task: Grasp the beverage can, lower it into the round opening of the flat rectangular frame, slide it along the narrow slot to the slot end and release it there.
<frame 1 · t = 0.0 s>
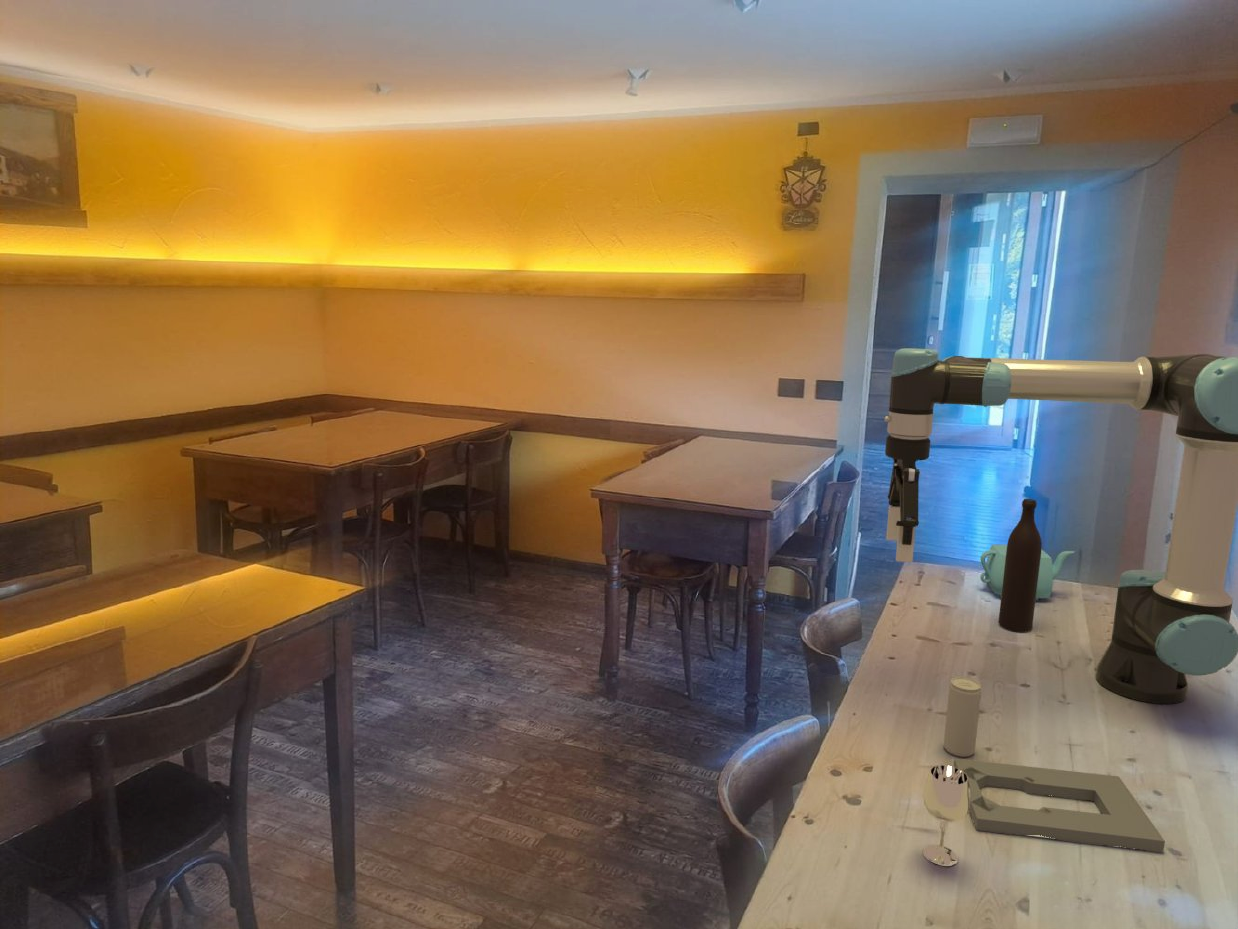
hand: (898, 550, 154), 28 cm above the table, fingers open, 13 cm apart
flat rectangular frame: (1049, 807, 124), on the table
beverage can: (958, 751, 139), on the table
wine bottle: (1014, 627, 193), on the table
teapot: (1022, 595, 215), on the table
wineglass: (940, 857, 113), on the table
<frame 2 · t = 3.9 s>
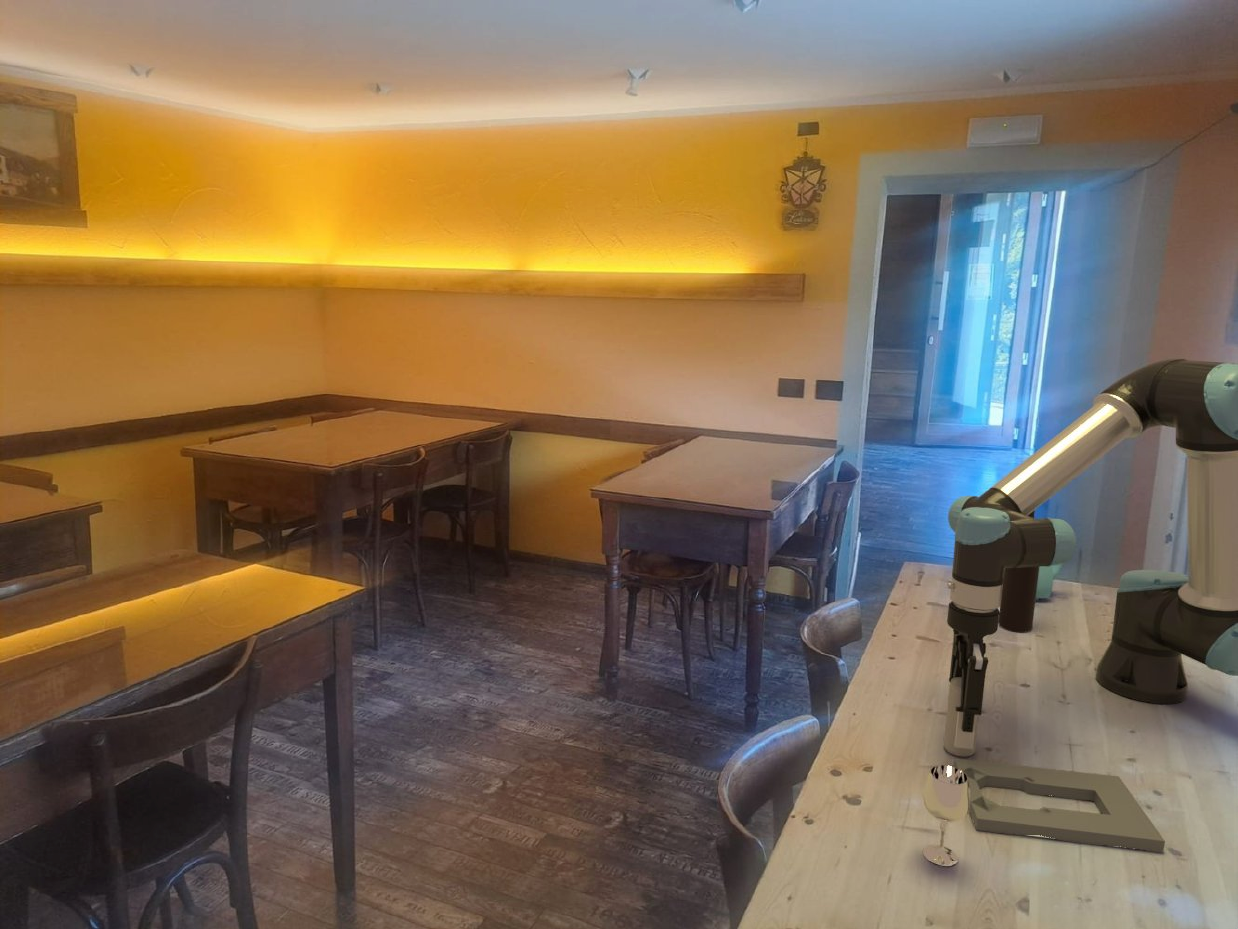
hand: (960, 738, 139), 2 cm above the table, fingers closed on beverage can, 5 cm apart
beverage can: (958, 751, 139), on the table, touching gripper
everything else where it was.
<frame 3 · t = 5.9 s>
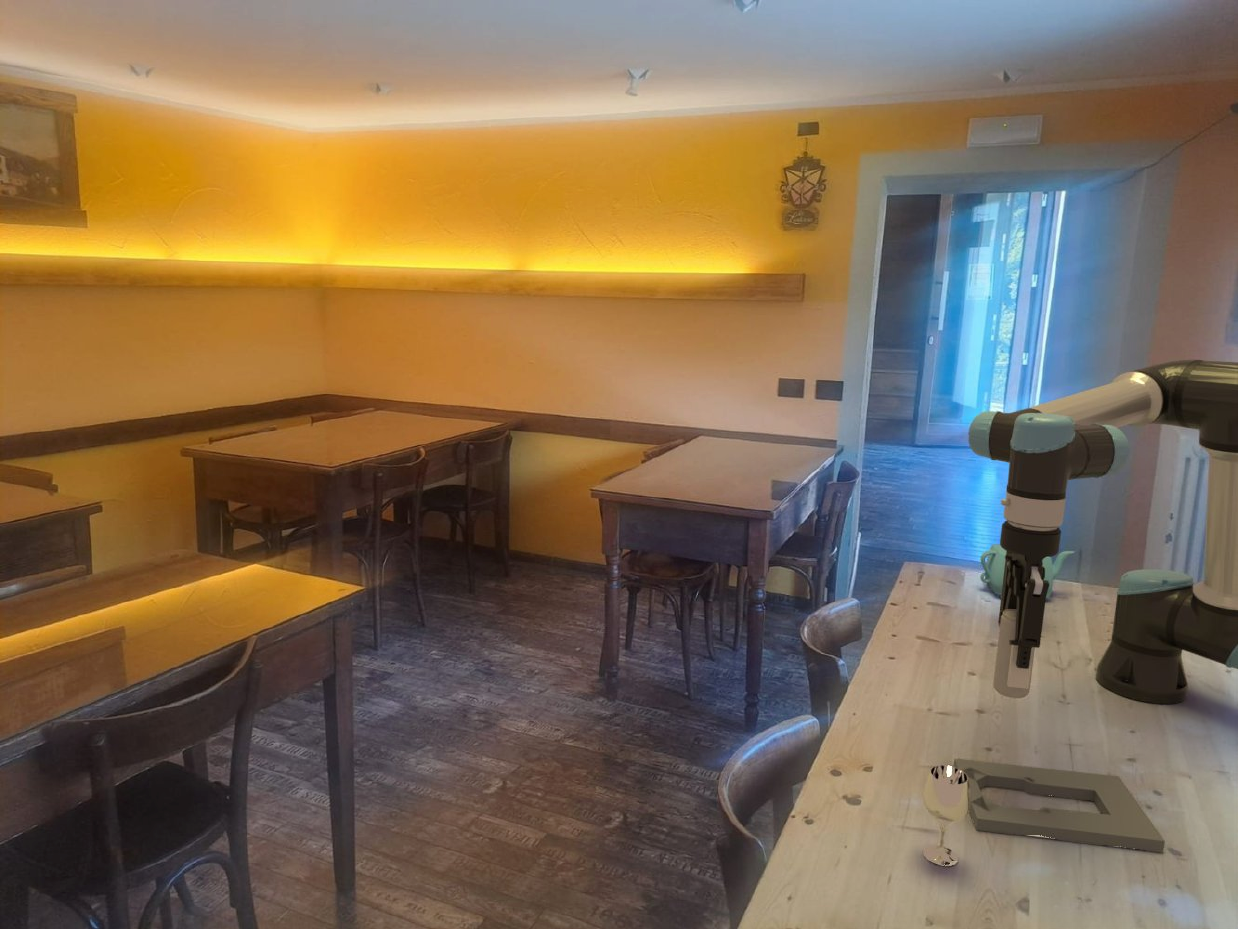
hand: (1012, 678, 123), 19 cm above the table, fingers closed on beverage can, 5 cm apart
beverage can: (1010, 693, 123), point 17 cm above the table, touching gripper
everything else where it was.
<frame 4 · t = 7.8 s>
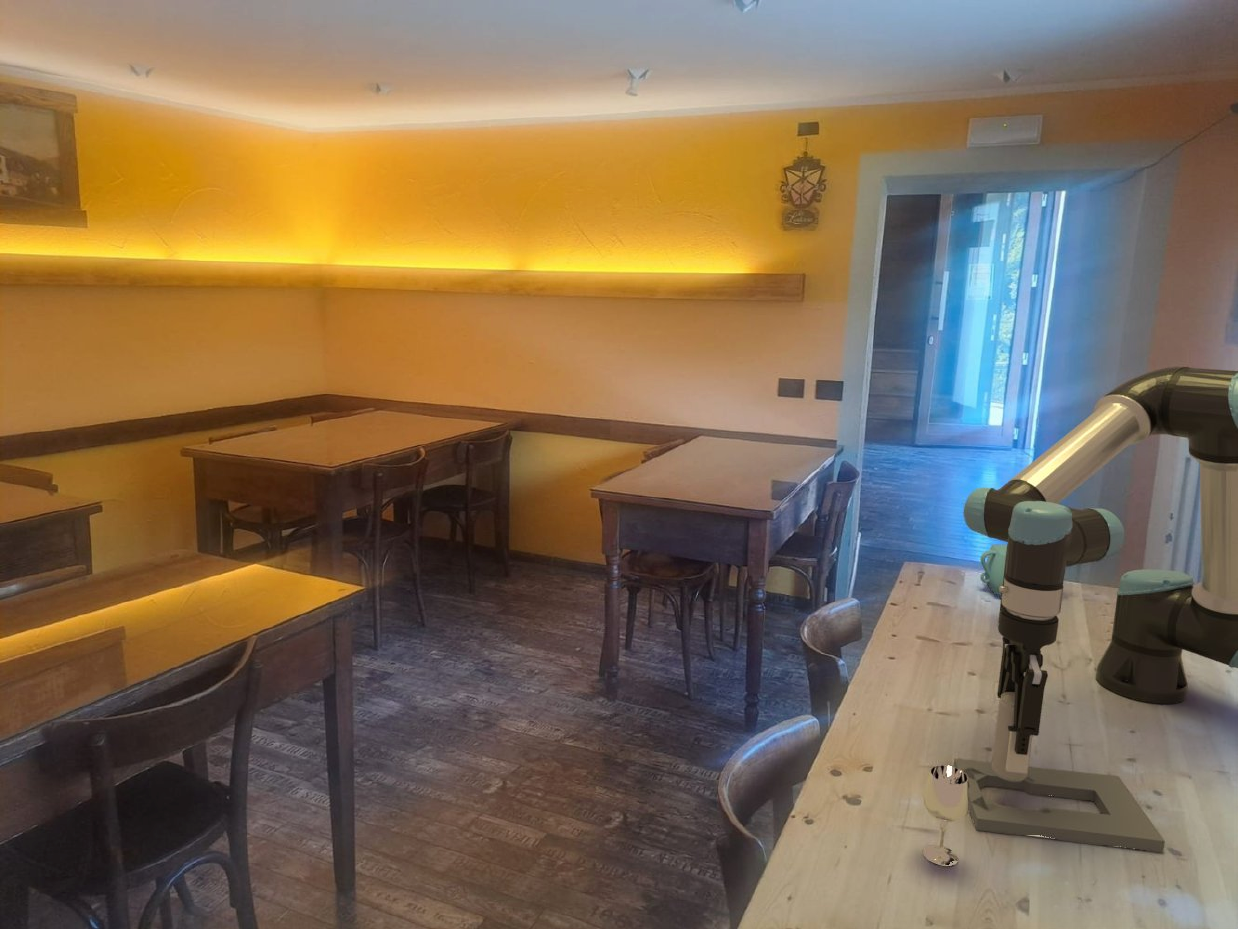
hand: (1011, 760, 124), 7 cm above the table, fingers closed on beverage can, 5 cm apart
beverage can: (1008, 775, 124), point 4 cm above the table, touching gripper
everything else where it was.
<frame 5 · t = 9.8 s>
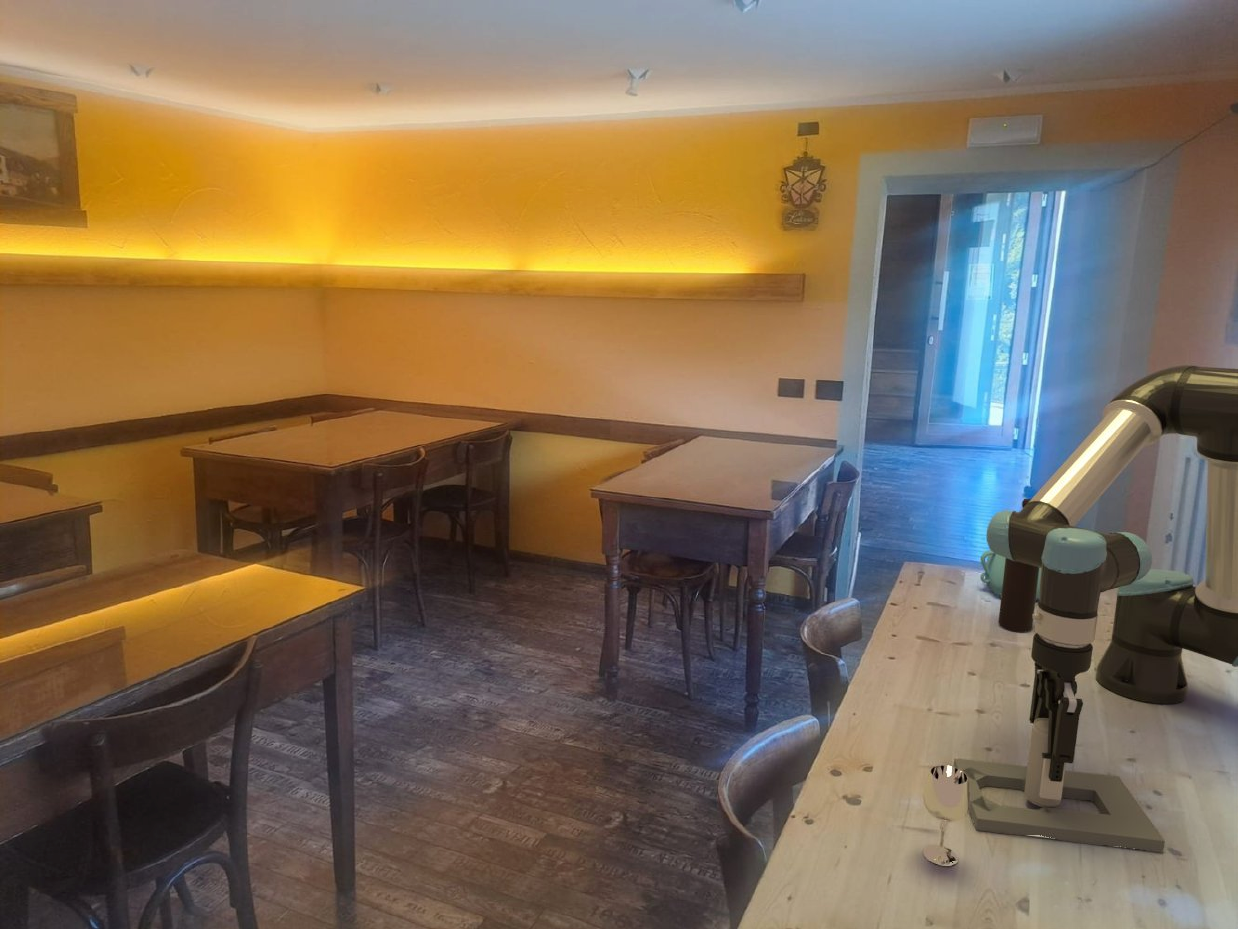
hand: (1044, 786, 124), 3 cm above the table, fingers closed on beverage can, 5 cm apart
beverage can: (1041, 801, 124), point 1 cm above the table, touching gripper
everything else where it was.
when the fingers open (3 cm above the table, at t = 11.8 s): beverage can drops 1 cm, resting in flat rectangular frame.
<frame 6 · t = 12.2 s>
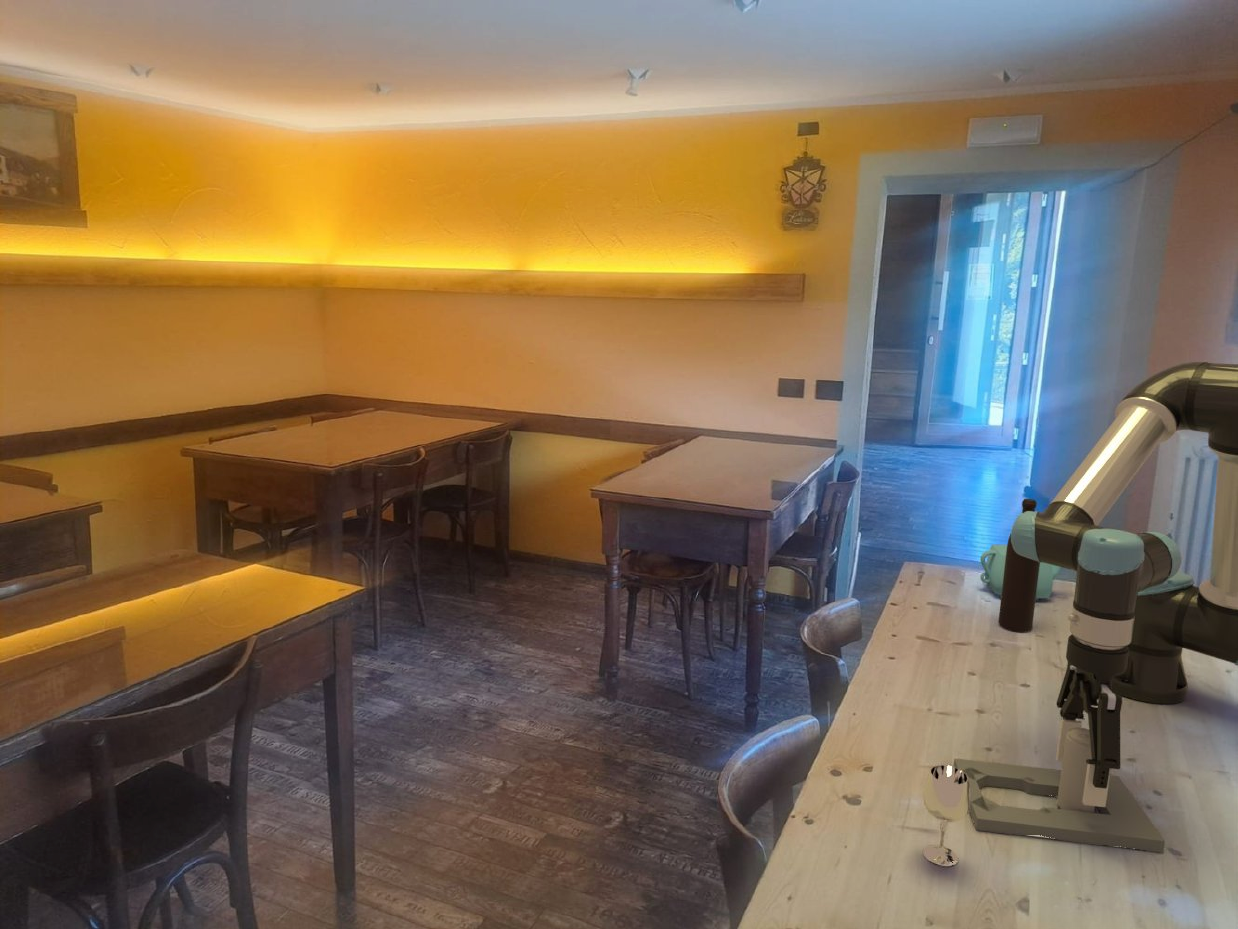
hand: (1079, 781, 122), 5 cm above the table, fingers open, 11 cm apart
beverage can: (1074, 811, 123), resting in flat rectangular frame
everything else where it was.
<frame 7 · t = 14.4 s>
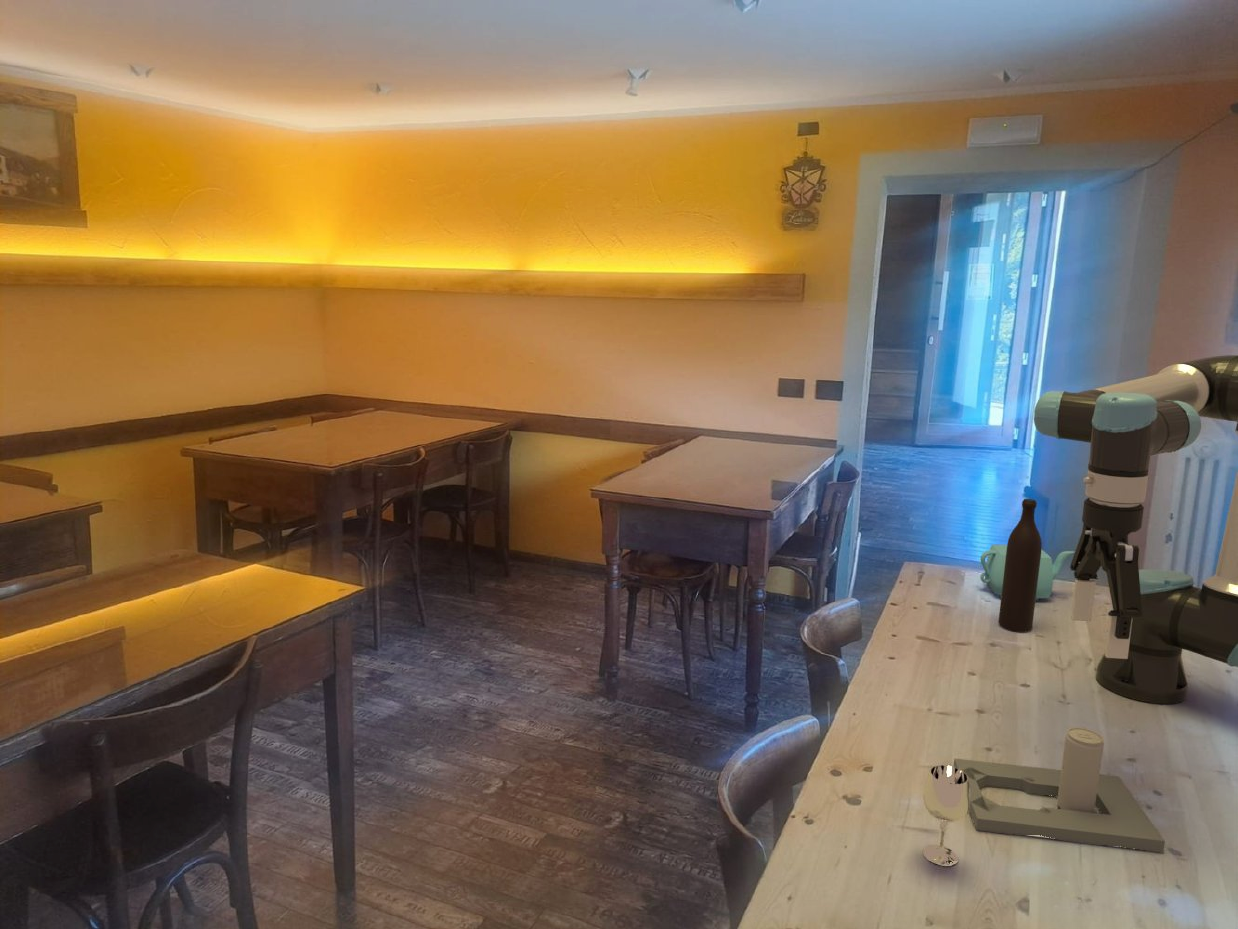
hand: (1097, 638, 126), 24 cm above the table, fingers open, 13 cm apart
nothing on the table moved.
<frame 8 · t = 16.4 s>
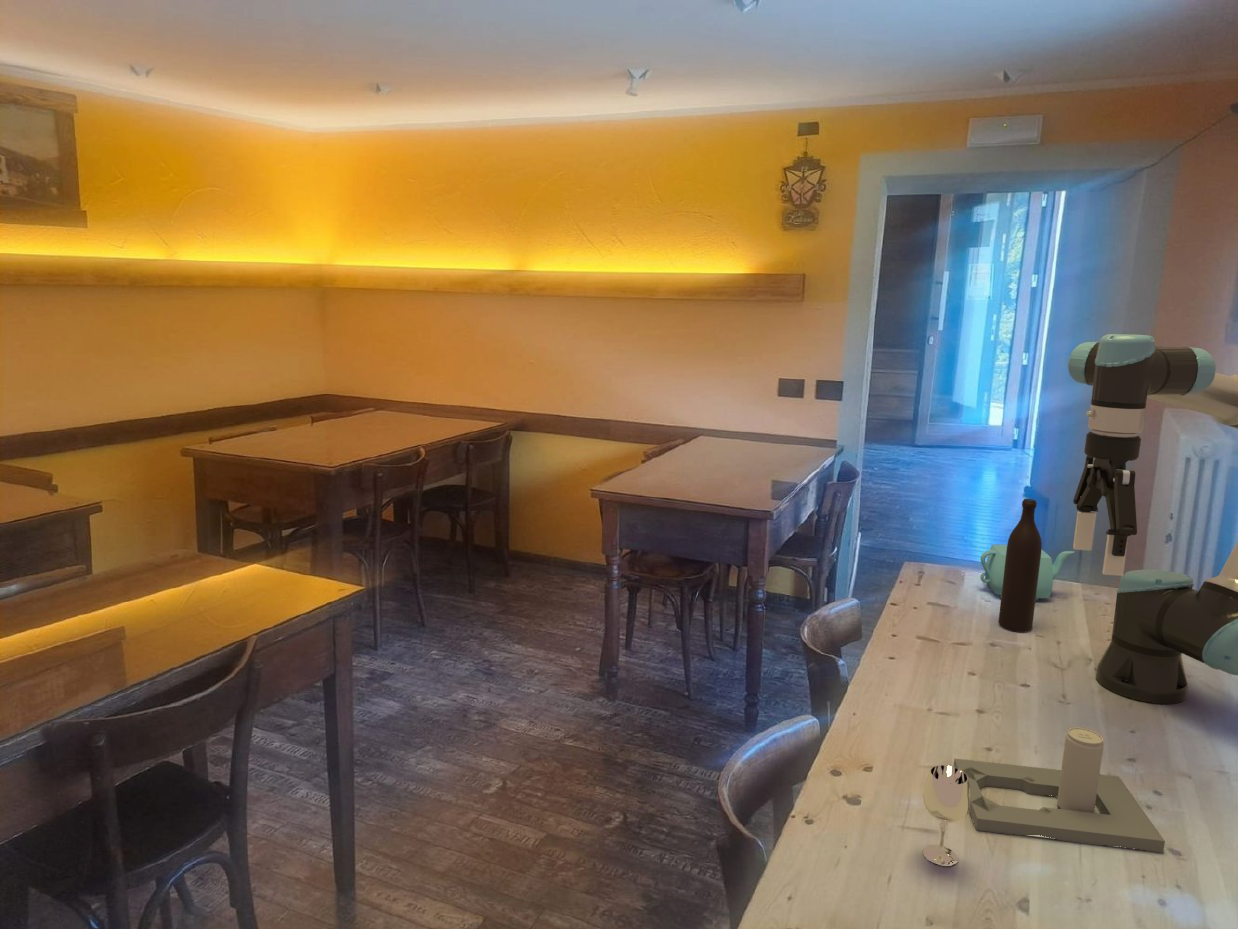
hand: (1096, 561, 137), 32 cm above the table, fingers open, 13 cm apart
nothing on the table moved.
at the end: beverage can 0.5 cm from the target spot on the flat rectangular frame, point 0.0 cm above the flat rectangular frame's base; beverage can tilted 0°; the gripper is holding nothing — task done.
